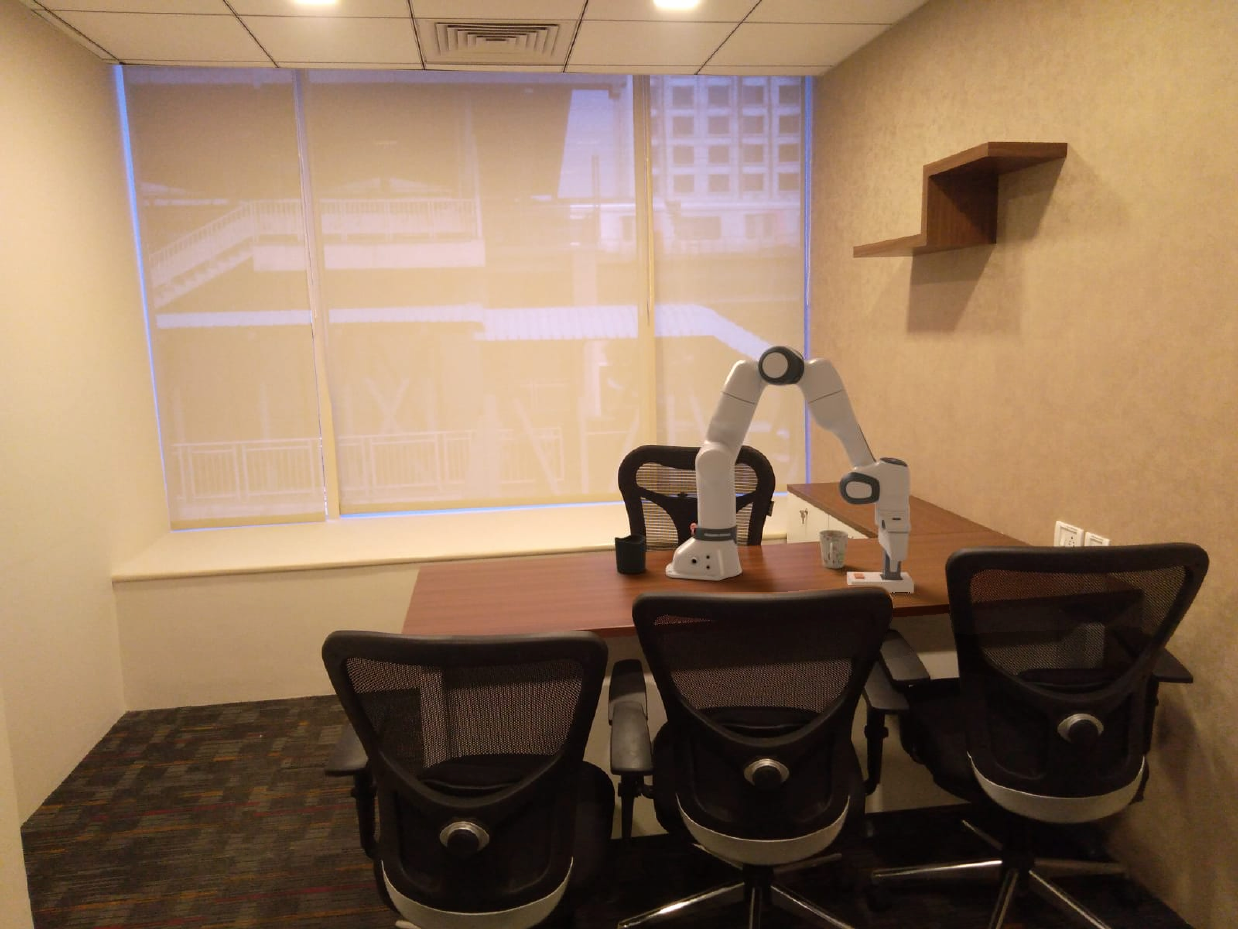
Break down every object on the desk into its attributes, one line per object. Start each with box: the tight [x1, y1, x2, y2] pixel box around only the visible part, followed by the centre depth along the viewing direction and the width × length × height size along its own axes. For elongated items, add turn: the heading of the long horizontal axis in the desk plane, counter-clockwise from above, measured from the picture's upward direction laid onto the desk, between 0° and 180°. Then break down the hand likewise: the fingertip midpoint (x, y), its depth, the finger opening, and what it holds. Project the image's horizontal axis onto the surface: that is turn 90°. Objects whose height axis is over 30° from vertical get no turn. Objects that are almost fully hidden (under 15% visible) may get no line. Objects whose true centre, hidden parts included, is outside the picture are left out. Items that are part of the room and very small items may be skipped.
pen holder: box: [614, 534, 647, 575], centre depth 243 cm, size 9×9×10 cm
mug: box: [818, 529, 849, 569], centre depth 238 cm, size 8×13×10 cm, turn 164°
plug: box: [881, 547, 902, 580], centre depth 218 cm, size 4×4×10 cm
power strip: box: [846, 571, 915, 594], centre depth 219 cm, size 16×9×4 cm, turn 82°
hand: (891, 568), depth 218 cm, fingers closed on plug, 4 cm apart
